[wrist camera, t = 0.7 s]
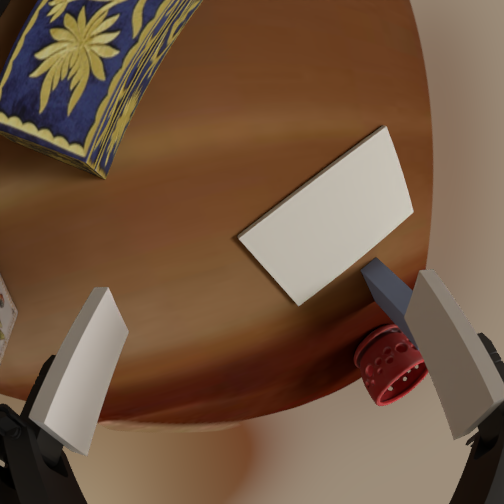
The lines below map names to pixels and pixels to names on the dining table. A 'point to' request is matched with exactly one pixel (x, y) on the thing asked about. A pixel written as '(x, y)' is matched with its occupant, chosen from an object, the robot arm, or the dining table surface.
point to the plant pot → (389, 364)
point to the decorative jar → (6, 317)
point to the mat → (332, 218)
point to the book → (389, 294)
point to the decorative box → (84, 74)
